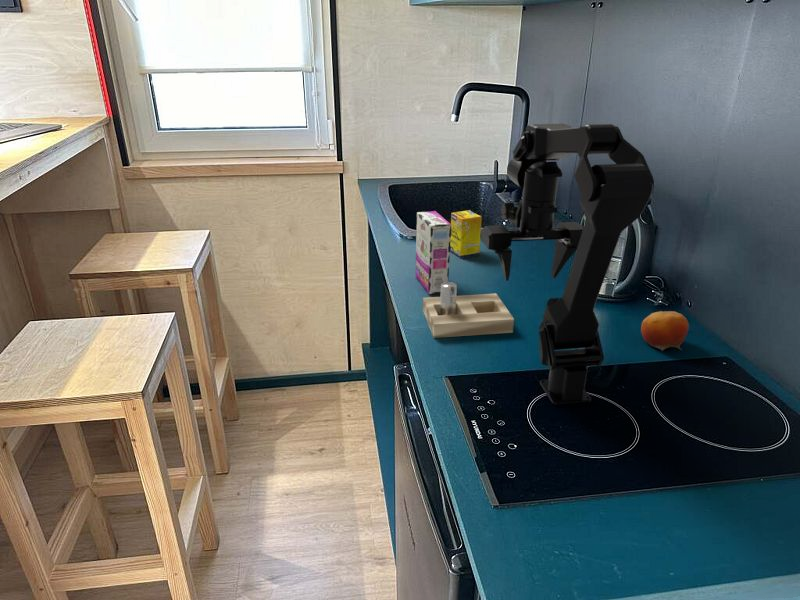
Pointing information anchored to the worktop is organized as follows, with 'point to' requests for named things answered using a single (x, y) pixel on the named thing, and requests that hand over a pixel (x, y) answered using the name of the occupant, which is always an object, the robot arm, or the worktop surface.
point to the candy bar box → (432, 250)
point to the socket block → (469, 316)
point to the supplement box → (465, 233)
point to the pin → (448, 298)
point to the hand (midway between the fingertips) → (530, 278)
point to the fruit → (664, 329)
